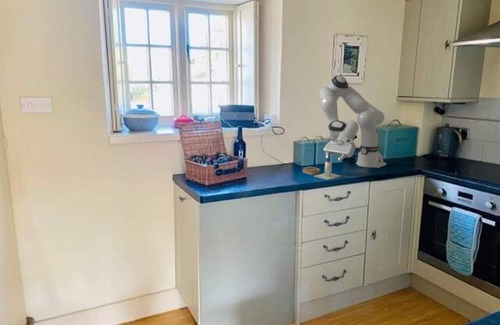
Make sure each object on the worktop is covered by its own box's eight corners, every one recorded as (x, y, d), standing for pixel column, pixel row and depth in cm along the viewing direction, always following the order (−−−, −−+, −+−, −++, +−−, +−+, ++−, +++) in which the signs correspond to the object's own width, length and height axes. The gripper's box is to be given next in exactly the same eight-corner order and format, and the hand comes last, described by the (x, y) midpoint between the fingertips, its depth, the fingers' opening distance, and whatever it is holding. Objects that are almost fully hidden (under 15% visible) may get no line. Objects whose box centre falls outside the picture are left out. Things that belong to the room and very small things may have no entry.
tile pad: (327, 173, 238) (327, 172, 238) (341, 176, 230) (341, 175, 230) (313, 176, 230) (313, 175, 230) (328, 180, 222) (328, 179, 222)
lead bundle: (327, 174, 233) (328, 160, 231) (332, 175, 230) (333, 161, 228) (323, 175, 230) (323, 161, 228) (328, 176, 227) (329, 162, 225)
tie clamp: (308, 170, 246) (308, 166, 245) (319, 173, 239) (319, 168, 238) (300, 172, 241) (301, 167, 240) (311, 174, 234) (311, 170, 234)
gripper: (327, 137, 239) (317, 154, 235) (354, 141, 224) (344, 158, 220) (331, 143, 243) (321, 160, 239) (358, 147, 228) (348, 165, 224)
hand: (332, 159), depth 229 cm, fingers open, 8 cm apart
